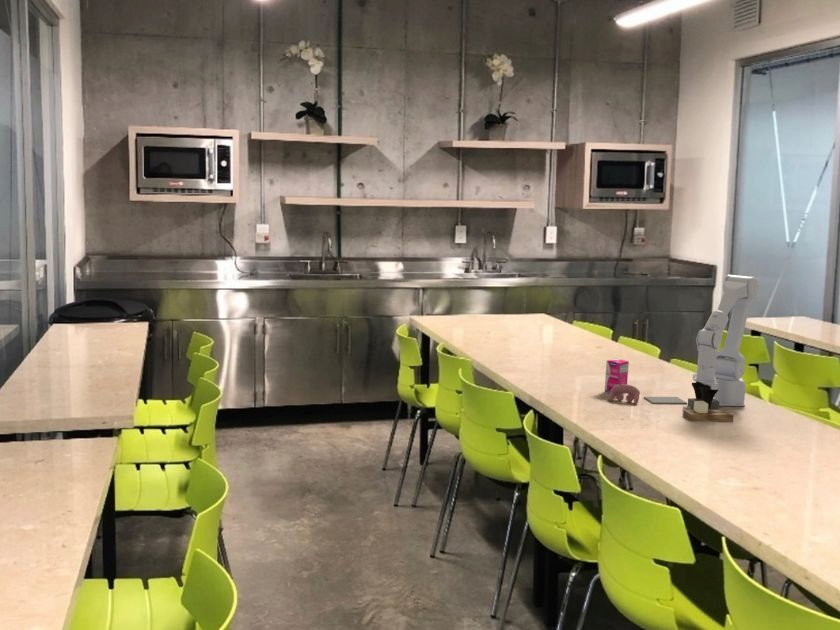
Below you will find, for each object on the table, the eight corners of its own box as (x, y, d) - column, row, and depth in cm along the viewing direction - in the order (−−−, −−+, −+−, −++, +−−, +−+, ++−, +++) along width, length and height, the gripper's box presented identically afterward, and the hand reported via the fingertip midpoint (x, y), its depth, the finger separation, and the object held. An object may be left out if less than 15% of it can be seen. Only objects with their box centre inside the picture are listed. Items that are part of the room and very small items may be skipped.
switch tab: (702, 410, 270) (703, 401, 269) (707, 413, 266) (708, 403, 266) (693, 410, 269) (694, 400, 269) (698, 413, 266) (699, 403, 265)
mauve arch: (638, 407, 286) (641, 387, 288) (637, 404, 282) (640, 384, 284) (609, 403, 290) (612, 384, 292) (607, 400, 286) (610, 380, 288)
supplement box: (603, 391, 301) (606, 359, 299) (613, 389, 305) (615, 358, 303) (617, 394, 297) (619, 362, 295) (627, 392, 300) (629, 360, 299)
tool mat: (676, 398, 294) (677, 396, 294) (686, 404, 286) (686, 402, 286) (643, 398, 293) (644, 396, 293) (652, 403, 285) (652, 402, 285)
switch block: (724, 415, 272) (724, 409, 272) (733, 420, 266) (733, 414, 266) (682, 415, 271) (683, 409, 270) (690, 420, 265) (691, 414, 264)
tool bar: (713, 408, 281) (713, 398, 281) (718, 411, 277) (719, 401, 277) (681, 408, 280) (682, 398, 279) (686, 411, 276) (687, 401, 275)
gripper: (685, 361, 283) (682, 400, 285) (704, 370, 269) (701, 411, 271) (705, 361, 284) (702, 400, 286) (725, 370, 270) (722, 411, 272)
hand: (703, 406), depth 278 cm, fingers closed on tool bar, 4 cm apart
